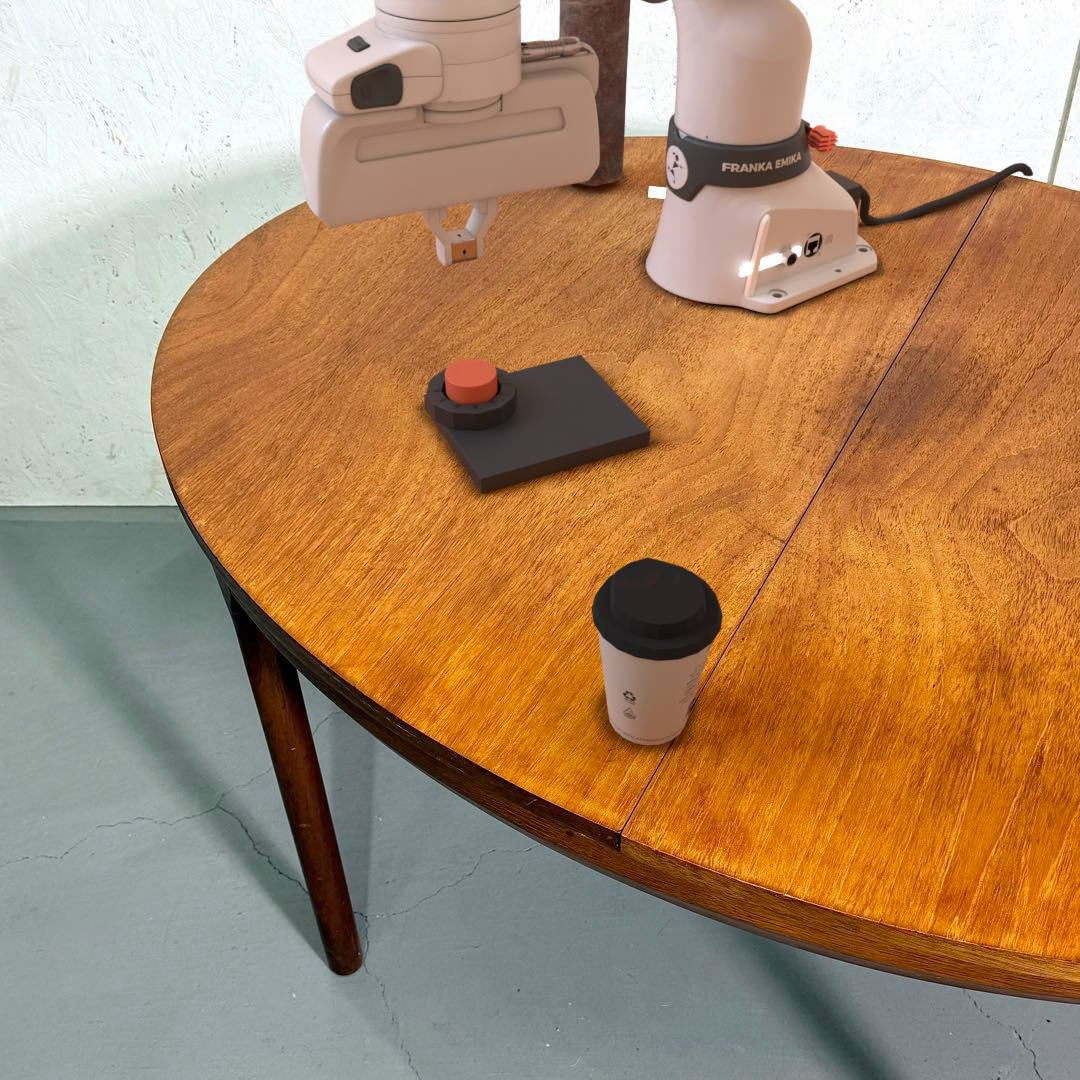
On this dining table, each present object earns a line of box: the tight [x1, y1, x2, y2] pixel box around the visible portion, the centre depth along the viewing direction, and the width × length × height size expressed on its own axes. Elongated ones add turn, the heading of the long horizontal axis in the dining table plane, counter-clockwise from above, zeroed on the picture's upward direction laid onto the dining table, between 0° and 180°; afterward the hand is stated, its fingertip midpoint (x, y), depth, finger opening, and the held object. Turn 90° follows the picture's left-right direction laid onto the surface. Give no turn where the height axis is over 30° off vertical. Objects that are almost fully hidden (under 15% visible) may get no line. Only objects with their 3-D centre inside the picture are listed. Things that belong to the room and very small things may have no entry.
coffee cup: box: [590, 557, 724, 746], centre depth 59 cm, size 7×7×10 cm
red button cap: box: [445, 358, 497, 405], centre depth 82 cm, size 4×4×2 cm
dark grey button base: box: [423, 354, 651, 494], centre depth 83 cm, size 14×12×3 cm
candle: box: [558, 0, 631, 187], centre depth 112 cm, size 8×7×20 cm
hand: (460, 259), depth 75 cm, fingers closed
